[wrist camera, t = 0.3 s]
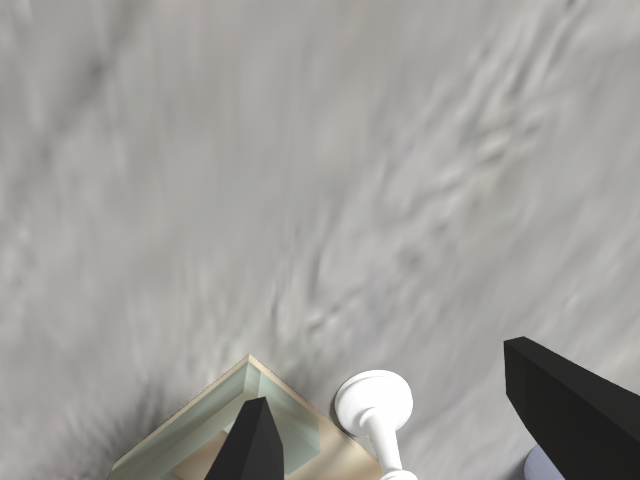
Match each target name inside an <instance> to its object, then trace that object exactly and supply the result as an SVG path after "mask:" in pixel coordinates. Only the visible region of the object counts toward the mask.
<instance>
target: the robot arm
mask: <svg viewBox="0 0 640 480" xmlns="http://www.w3.org/2000/svg"><path fill="white" fill-rule="evenodd" d="M504 359H505V378H506V395H507V396H508V398H509V400H510V402H511V403H512V405H513V407H514V408H515V410H516V412H517V414H518V415H519V417H520V419H521V420H522V422H523V423H524V425H525V427H526V428H527V430H528V431H529V432H530V434H531V435H532V436H533V438H534V439H535V440H536V442H537V443H538V444H537V445H536V446H535V447H534V448H533V450H532V451H531V452H530V454H529V455H528V457H527V459H526V462H525V466H524V476H525V479H526V480H640V396H639V395H637V394H635V393H632V392H630V391H628V390H626V389H624V388H622V387H620V386H618V385H616V384H614V383H612V382H610V381H608V380H606V379H604V378H602V377H600V376H598V375H596V374H594V373H592V372H590V371H588V370H586V369H584V368H582V367H581V366H579V365H577V364H575V363H573V362H571V361H569V360H567V359H566V358H564V357H562V356H560V355H558V354H556V353H554V352H553V351H551V350H549V349H547V348H545V347H543V346H542V345H540V344H538V343H536V342H534V341H532V340H530V339H528V338H526V337H524V336H523V337H519V338H515V339H510V340H506V341H504ZM204 480H284V454H283V444H282V441H281V439H280V436H279V433H278V430H277V427H276V425H275V422H274V419H273V416H272V413H271V411H270V408H269V405H268V402H267V399H266V397H265V396H264V397H260V398H256V399H251V400H247V401H245V402H244V404H243V405H242V408H241V410H240V412H239V414H238V416H237V418H236V420H235V422H234V424H233V426H232V428H231V430H230V432H229V434H228V436H227V438H226V440H225V442H224V444H223V445H222V447H221V449H220V451H219V453H218V455H217V457H216V458H215V460H214V462H213V464H212V466H211V468H210V470H209V471H208V473H207V475H206V477H205V478H204Z"/></svg>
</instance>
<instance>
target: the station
mask: <svg viewBox="0 0 640 480" xmlns="http://www.w3.org/2000/svg"><path fill="white" fill-rule="evenodd" d="M264 396H265V397H266V399H267V402H268V405H269V408H270V411H271V413H272V416H273V419H274V422H275V425H276V427H277V430H278V433H279V436H280V439H281V441H282V444H283V454H284V480H379V479H380V478H381V477H382V476H383V475H384V474H383V472H382V469H381V466H380V463H379V461H378V460H377V459H375V458H374V457H373V456H372V455H371V454H369V453H368V452H367V451H366V450H365V449H363V448H362V447H361V446H360V445H359V444H357V443H356V442H355V441H354V440H353V439H351V438H350V437H349V436H348V435H346V434H345V433H344V432H343V431H342V430H340V429H339V428H338V427H337V426H336V425H334V424H333V423H332V422H331V421H330V420H328V419H327V418H326V417H325V416H324V415H322V414H321V413H320V412H319V411H318V410H316V409H315V408H314V407H313V406H312V405H310V404H309V403H308V402H307V401H305V400H304V399H303V398H302V397H301V396H299V395H298V394H297V393H296V392H295V391H293V390H292V389H291V388H290V387H289V386H287V385H286V384H285V383H284V382H283V381H281V380H280V379H279V378H278V377H277V376H275V375H274V374H273V373H272V372H271V371H269V370H268V369H267V368H266V367H264V366H263V365H262V364H261V363H260V362H258V361H257V360H256V359H255V358H254V357H252V356H251V355H250V354H249V355H248V356H247V357H245V358H244V359H243V360H242V361H240V362H239V363H238V364H237V365H235V366H234V367H233V368H232V369H230V370H229V371H228V372H227V373H226V374H224V375H223V376H222V377H221V378H219V379H218V380H217V381H216V382H214V383H213V384H212V385H211V386H209V387H208V388H207V389H206V390H204V391H203V392H202V393H201V394H200V395H198V396H197V397H196V398H195V399H193V400H192V401H191V402H190V403H188V404H187V405H186V406H185V407H183V408H182V409H181V410H180V411H178V412H177V413H176V414H175V415H174V416H172V417H171V418H170V419H169V420H167V421H166V422H165V423H164V424H162V425H161V426H160V427H159V428H157V429H156V430H155V431H154V432H152V433H151V434H150V435H149V436H148V437H146V438H145V439H144V440H143V441H141V442H140V443H139V444H138V445H136V446H135V447H134V448H133V449H131V450H130V451H129V452H128V453H126V454H125V455H124V456H123V457H122V458H120V459H119V460H118V461H117V462H115V464H114V466H113V468H112V470H111V472H110V474H109V476H108V478H107V480H204V478H205V477H206V475H207V473H208V471H209V470H210V468H211V466H212V464H213V462H214V460H215V458H216V457H217V455H218V453H219V451H220V449H221V447H222V445H223V444H224V442H225V440H226V438H227V436H228V434H229V432H230V430H231V428H232V426H233V424H234V422H235V420H236V418H237V416H238V414H239V412H240V410H241V408H242V405H243V404H244V402H245V401H247V400H251V399H256V398H260V397H264Z"/></svg>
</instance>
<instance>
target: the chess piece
mask: <svg viewBox="0 0 640 480" xmlns="http://www.w3.org/2000/svg"><path fill="white" fill-rule="evenodd" d="M412 407H413V400H412V396H411V391H410V388H409V386H408V384H407V383H406V381H405V380H404V379H403V378H401V377H400V376H399V375H397V374H395V373H392V372H389V371H385V370H370V371H365V372H362V373H359V374H357V375H355V376H353V377H351V378H350V379H349V380H347V381H346V382H345V383H344V384H343V385H342V386H341V388H340V389H339V391H338V393H337V395H336V398H335V411H336V414H337V416H338V419H339V422H340V424H341V425H342V426H343V427H344V428H345V429H346V430H347V431H348V432H350V433H351V434H353V435H356V436H359V437H363V438H370V440H371V443H372V445H373V448H374V450H375V453H376V455H377V458H378V461H379V463H380V466H381V469H382V472H383V474H384V475H383V476H382V477H381V478H380V479H379V480H417V478H416V476H415V475H414V474H412V473H411V472H408V471H405V470H402V466H401V461H400V457H399V451H398V446H397V440H396V434H395V431H396V430H398V429H399V428H400V427H402V426H403V425H404V424H405V422H406V421H407V420H408V418H409V417H410V414H411V412H412Z"/></svg>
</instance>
